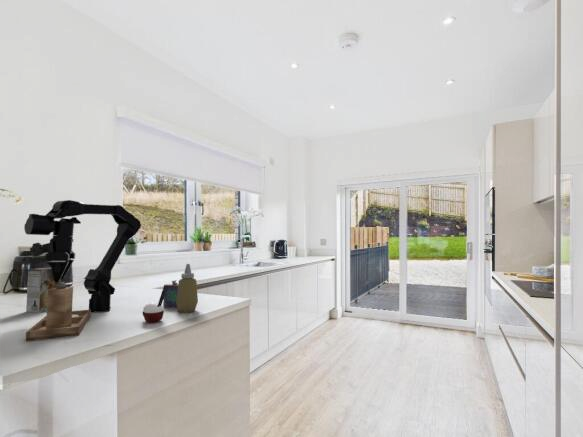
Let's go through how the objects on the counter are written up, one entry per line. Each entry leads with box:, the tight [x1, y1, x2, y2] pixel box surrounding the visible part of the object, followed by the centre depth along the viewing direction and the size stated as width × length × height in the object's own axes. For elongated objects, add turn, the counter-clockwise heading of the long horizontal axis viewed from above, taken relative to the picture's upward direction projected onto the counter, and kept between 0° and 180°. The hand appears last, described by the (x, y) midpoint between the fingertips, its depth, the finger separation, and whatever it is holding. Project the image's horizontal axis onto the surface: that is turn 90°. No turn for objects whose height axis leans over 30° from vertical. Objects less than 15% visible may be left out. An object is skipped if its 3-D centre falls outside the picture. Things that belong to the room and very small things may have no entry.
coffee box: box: [25, 266, 63, 313], centre depth 121 cm, size 9×6×16 cm
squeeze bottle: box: [176, 263, 199, 314], centre depth 120 cm, size 8×8×18 cm
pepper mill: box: [46, 281, 74, 329], centre depth 93 cm, size 5×5×14 cm
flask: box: [162, 280, 179, 309], centre depth 127 cm, size 9×3×11 cm, turn 71°
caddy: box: [25, 309, 92, 342], centre depth 97 cm, size 12×23×2 cm, turn 26°
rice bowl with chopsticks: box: [142, 285, 167, 324], centre depth 104 cm, size 10×6×12 cm, turn 48°
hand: (59, 280), depth 108 cm, fingers open, 9 cm apart
